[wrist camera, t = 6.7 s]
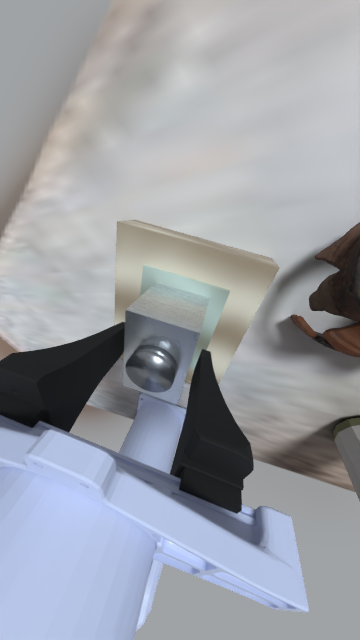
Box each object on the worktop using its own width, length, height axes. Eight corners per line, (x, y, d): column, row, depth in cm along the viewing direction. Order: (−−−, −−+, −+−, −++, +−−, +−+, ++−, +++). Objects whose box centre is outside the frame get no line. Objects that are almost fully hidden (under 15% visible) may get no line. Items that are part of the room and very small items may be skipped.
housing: (190, 360, 18) (173, 417, 13) (147, 346, 19) (115, 396, 14) (209, 297, 14) (197, 343, 9) (156, 282, 15) (116, 318, 10)
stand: (216, 372, 22) (214, 394, 20) (126, 340, 24) (112, 357, 21) (271, 258, 15) (280, 268, 12) (135, 220, 16) (114, 221, 13)
